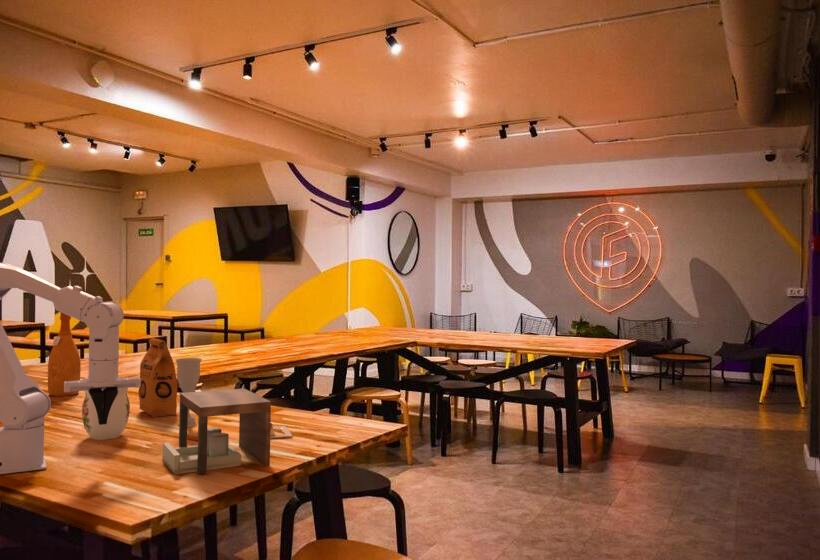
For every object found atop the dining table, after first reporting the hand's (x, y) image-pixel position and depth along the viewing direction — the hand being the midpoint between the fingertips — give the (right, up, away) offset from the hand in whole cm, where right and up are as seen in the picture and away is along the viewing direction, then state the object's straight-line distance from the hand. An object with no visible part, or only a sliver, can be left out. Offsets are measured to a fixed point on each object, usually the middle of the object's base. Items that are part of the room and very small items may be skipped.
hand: (102, 423), depth 137 cm
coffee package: (-10, -10, +56) cm, 58 cm away
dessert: (+27, -11, +33) cm, 44 cm away
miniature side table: (+23, -10, +8) cm, 26 cm away
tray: (+19, -10, +6) cm, 22 cm away
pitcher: (-12, -9, +28) cm, 32 cm away
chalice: (+4, -10, +41) cm, 42 cm away
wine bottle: (-53, -9, +84) cm, 99 cm away
